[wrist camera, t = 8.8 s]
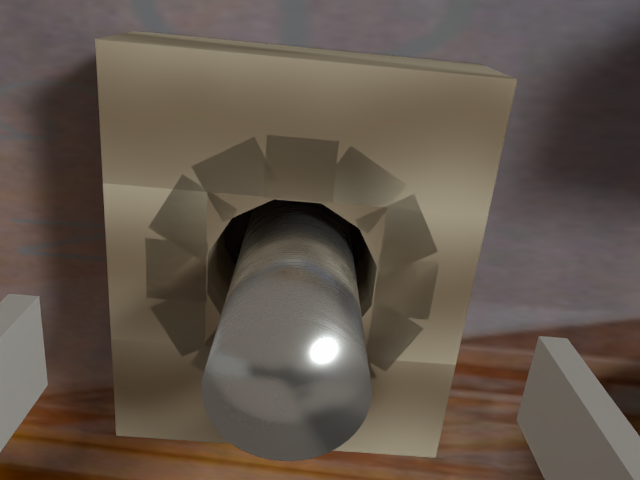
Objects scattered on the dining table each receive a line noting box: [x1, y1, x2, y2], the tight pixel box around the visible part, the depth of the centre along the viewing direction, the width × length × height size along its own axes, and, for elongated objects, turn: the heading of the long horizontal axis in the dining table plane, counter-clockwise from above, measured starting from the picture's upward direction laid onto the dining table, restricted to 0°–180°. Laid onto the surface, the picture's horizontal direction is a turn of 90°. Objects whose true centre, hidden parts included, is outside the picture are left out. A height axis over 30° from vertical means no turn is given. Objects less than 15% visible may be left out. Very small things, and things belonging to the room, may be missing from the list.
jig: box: [95, 31, 517, 457], centre depth 21 cm, size 14×12×4 cm
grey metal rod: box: [201, 199, 372, 461], centre depth 18 cm, size 4×4×10 cm
